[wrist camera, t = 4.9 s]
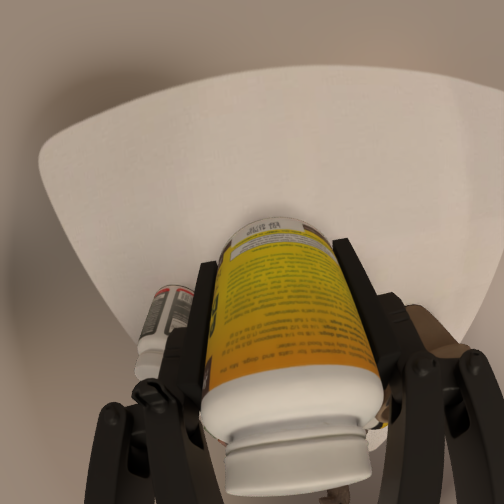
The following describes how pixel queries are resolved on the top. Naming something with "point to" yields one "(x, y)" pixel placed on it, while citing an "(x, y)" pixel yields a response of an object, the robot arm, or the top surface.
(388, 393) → the flower pot
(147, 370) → the pill bottle
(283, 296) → the supplement bottle
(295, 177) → the top surface
